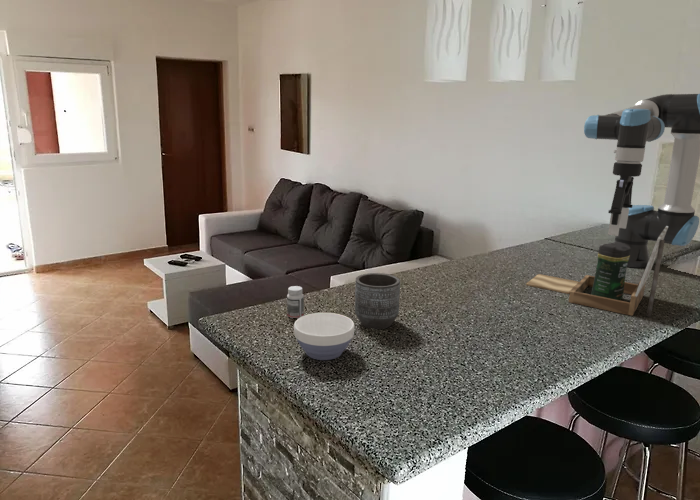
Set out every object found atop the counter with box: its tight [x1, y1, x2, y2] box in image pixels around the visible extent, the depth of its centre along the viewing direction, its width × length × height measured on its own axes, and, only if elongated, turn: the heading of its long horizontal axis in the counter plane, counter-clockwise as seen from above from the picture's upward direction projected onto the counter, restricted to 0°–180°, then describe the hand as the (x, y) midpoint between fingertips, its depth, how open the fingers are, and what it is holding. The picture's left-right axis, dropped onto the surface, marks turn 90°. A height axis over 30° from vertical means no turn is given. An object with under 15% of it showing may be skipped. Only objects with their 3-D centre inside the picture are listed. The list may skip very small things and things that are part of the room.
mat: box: [525, 273, 580, 295], centre depth 179 cm, size 14×14×1 cm
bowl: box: [293, 312, 356, 361], centre depth 124 cm, size 14×14×8 cm
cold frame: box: [568, 226, 668, 317], centre depth 161 cm, size 22×22×24 cm
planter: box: [354, 272, 401, 330], centre depth 141 cm, size 12×12×13 cm
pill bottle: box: [286, 285, 305, 319], centre depth 146 cm, size 5×5×8 cm
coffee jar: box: [590, 241, 631, 301], centre depth 163 cm, size 10×8×19 cm
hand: (617, 231), depth 160 cm, fingers open, 13 cm apart
